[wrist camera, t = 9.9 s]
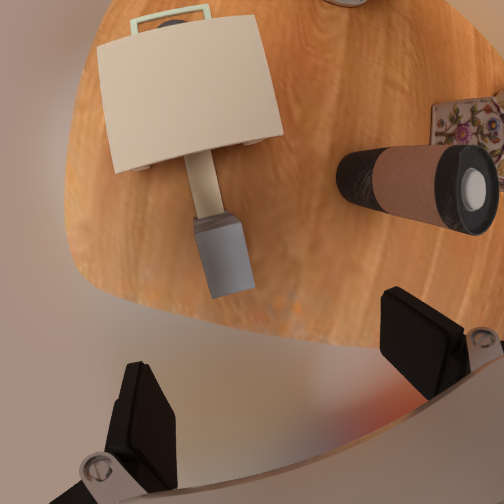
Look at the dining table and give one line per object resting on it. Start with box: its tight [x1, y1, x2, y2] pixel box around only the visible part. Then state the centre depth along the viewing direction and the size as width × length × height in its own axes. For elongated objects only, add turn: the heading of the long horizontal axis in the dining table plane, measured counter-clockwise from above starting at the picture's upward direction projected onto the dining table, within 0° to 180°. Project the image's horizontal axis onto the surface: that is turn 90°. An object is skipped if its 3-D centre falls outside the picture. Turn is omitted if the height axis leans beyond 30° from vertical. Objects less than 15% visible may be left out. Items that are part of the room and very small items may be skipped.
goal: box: [130, 4, 212, 35], centre depth 27 cm, size 10×8×1 cm
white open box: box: [97, 15, 284, 174], centre depth 25 cm, size 15×13×10 cm
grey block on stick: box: [184, 150, 255, 299], centre depth 27 cm, size 4×22×10 cm, turn 12°
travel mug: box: [336, 144, 499, 236], centre depth 27 cm, size 8×8×20 cm
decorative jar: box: [430, 96, 504, 192], centre depth 30 cm, size 12×12×18 cm
